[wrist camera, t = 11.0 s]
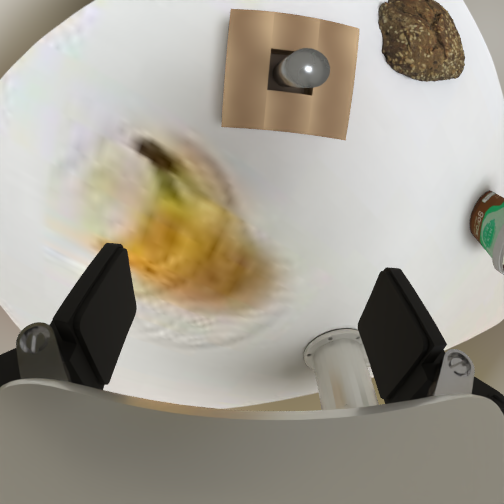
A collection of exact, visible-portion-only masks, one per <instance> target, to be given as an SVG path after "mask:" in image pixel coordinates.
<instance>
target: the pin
mask: <svg viewBox="0 0 504 504" xmlns="http://www.w3.org/2000/svg"><path fill="white" fill-rule="evenodd" d="M329 74H330V65H329V62H328V60H327V58H326V57H325V56H324V55H323V54H322V53H321V52H319V51H317V50H315V49H312V48H302V49H299V50H296V51H295V52H293V53H292V54H291V55H289V56H288V57H286V58H285V59H284V60H282V61H281V62H279V63H278V64H277V65H276V66H275V67H274V69H273V78H274V80H275V81H276V82H277V83H278V84H279V85H281V86H283V87H300V88H314V87H318V86H320V85H322V84H323V83H324V82H325V81H326V80H327V79H328V77H329Z"/></svg>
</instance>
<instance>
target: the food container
mask: <svg viewBox="0 0 504 504" xmlns="http://www.w3.org/2000/svg"><path fill="white" fill-rule="evenodd" d="M470 230H471V233H472V234H473V236H474V237H475V238H476V239H477V240H478V241H479V243H480V244H481V245H482V246H483V248H484V249H485V250H486V251H487V252H488V254H489V255H490V256H491V258H492V259H493V265H494V267H495V269H496V270H497V271H499V272H500V273H502V274H503V275H504V198H503V197H501V196H499V195H497V194H496V193H494V192H492V191H490V190H489V191H488V192H486V193H485V194H484V195H482V196H481V197H480V198H479V200H478V201H477V203H476V204H475V206H474V209H473V211H472V214H471V218H470Z"/></svg>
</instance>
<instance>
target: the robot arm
mask: <svg viewBox="0 0 504 504" xmlns="http://www.w3.org/2000/svg"><path fill="white" fill-rule="evenodd" d="M135 314H136V300H135V295H134V290H133V284H132V278H131V272H130V266H129V259H128V252H127V249H125V248H123V246H122V245H121V244H114V243H106V244H105V245H104V246H103V248H102V249H101V250H100V252H99V253H98V254H97V255H96V257H95V258H94V259H93V261H92V262H91V263H90V265H89V266H88V267H87V269H86V270H85V272H84V273H83V274H82V276H81V277H80V279H79V280H78V281H77V283H76V284H75V286H74V287H73V289H72V290H71V291H70V293H69V294H68V296H67V297H66V299H65V300H64V302H63V303H62V305H61V306H60V308H59V309H58V311H57V313H56V314H55V316H54V317H53V320H52V322H51V324H50V325H48V324H46V323H41V322H37V323H33V324H30V325H28V326H26V327H25V328H24V329H23V330H22V331H21V332H20V334H19V335H18V337H17V340H16V348H15V349H13V350H10V351H8V352H6V353H4V354H1V355H0V504H504V396H503V395H502V394H501V393H500V392H498V391H497V390H495V389H494V388H492V387H490V386H489V385H487V384H485V383H484V382H482V381H481V380H479V379H477V378H476V377H474V365H473V362H472V361H471V359H470V358H469V357H468V356H467V355H466V354H465V353H464V352H462V351H460V350H457V349H451V350H448V351H447V352H446V353H445V352H444V350H443V349H444V348H445V346H446V345H447V343H446V342H445V340H444V338H443V336H442V334H441V333H440V331H439V329H438V327H437V326H436V324H435V322H434V321H433V319H432V317H431V316H430V314H429V312H428V311H427V309H426V307H425V306H424V304H423V303H422V301H421V299H420V298H419V296H418V295H417V293H416V292H415V290H414V288H413V287H412V285H411V284H410V282H409V281H408V279H407V278H406V276H405V275H404V273H403V272H402V270H401V269H398V268H385V269H384V271H381V272H380V274H379V276H378V279H377V281H376V283H375V286H374V288H373V291H372V293H371V295H370V298H369V300H368V302H367V304H366V307H365V309H364V311H363V313H362V315H361V318H360V320H359V322H358V331H357V330H353V329H340V330H335V331H331V332H328V333H326V334H323V335H321V336H319V337H318V338H316V339H315V340H313V341H312V342H311V343H310V344H309V345H308V346H307V348H306V349H305V352H304V361H305V364H306V365H307V366H308V367H309V368H311V369H313V370H315V375H316V380H317V386H318V391H319V397H320V402H321V408H322V410H319V411H286V412H285V411H279V412H278V411H244V410H227V409H215V408H205V407H195V406H187V405H179V404H172V403H166V402H160V401H154V400H148V399H143V398H138V397H132V396H127V395H122V394H118V393H113V392H109V391H104V390H103V388H104V385H105V384H106V385H107V384H108V383H109V382H110V379H111V376H112V374H113V371H114V368H115V365H116V363H117V360H118V357H119V355H120V352H121V349H122V347H123V344H124V341H125V339H126V336H127V334H128V331H129V329H130V326H131V324H132V321H133V319H134V317H135ZM367 367H371V369H372V372H373V375H374V378H375V381H376V384H377V388H378V391H379V394H380V397H381V398H382V399H384V401H385V404H383V405H379V404H378V400H377V397H376V394H375V390H374V387H373V384H372V380H371V377H370V374H369V371H368V368H367Z"/></svg>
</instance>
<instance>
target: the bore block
mask: <svg viewBox="0 0 504 504" xmlns="http://www.w3.org/2000/svg"><path fill="white" fill-rule="evenodd" d="M358 40H359V28H355V27H351V26H347V25H344V24H340V23H335V22H331V21H326V20H322V19H317V18H311V17H306V16H300V15H293V14H286V13H278V12H269V11H258V10H242V9H231V12H230V22H229V32H228V43H227V55H226V67H225V80H224V94H223V109H222V126H221V127H232V128H249V129H262V130H273V131H283V132H292V133H300V134H308V135H315V136H322V137H329V138H335V139H341V140H346V134H347V128H348V121H349V115H350V108H351V101H352V94H353V86H354V78H355V70H356V61H357V51H358ZM302 48H312V49H315V50H317V51H319V52H321V53H322V54H323V55H324V56H325V57H326V58H327V60H328V62H329V65H330V74H329V77H328V79H327V80H326V81H325V82H324V83H323V84H322V85H320V86H318V87H314V88H300V87H283V86H281V85H279V84H278V83H277V82H276V81H275V80H274V78H273V69H274V67H275V66H276V65H277V64H278V63H279V62H281V61H282V60H284V59H285V58H286V57H288V56H289V55H291V54H292V53H293V52H295V51H296V50H299V49H302Z"/></svg>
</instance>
